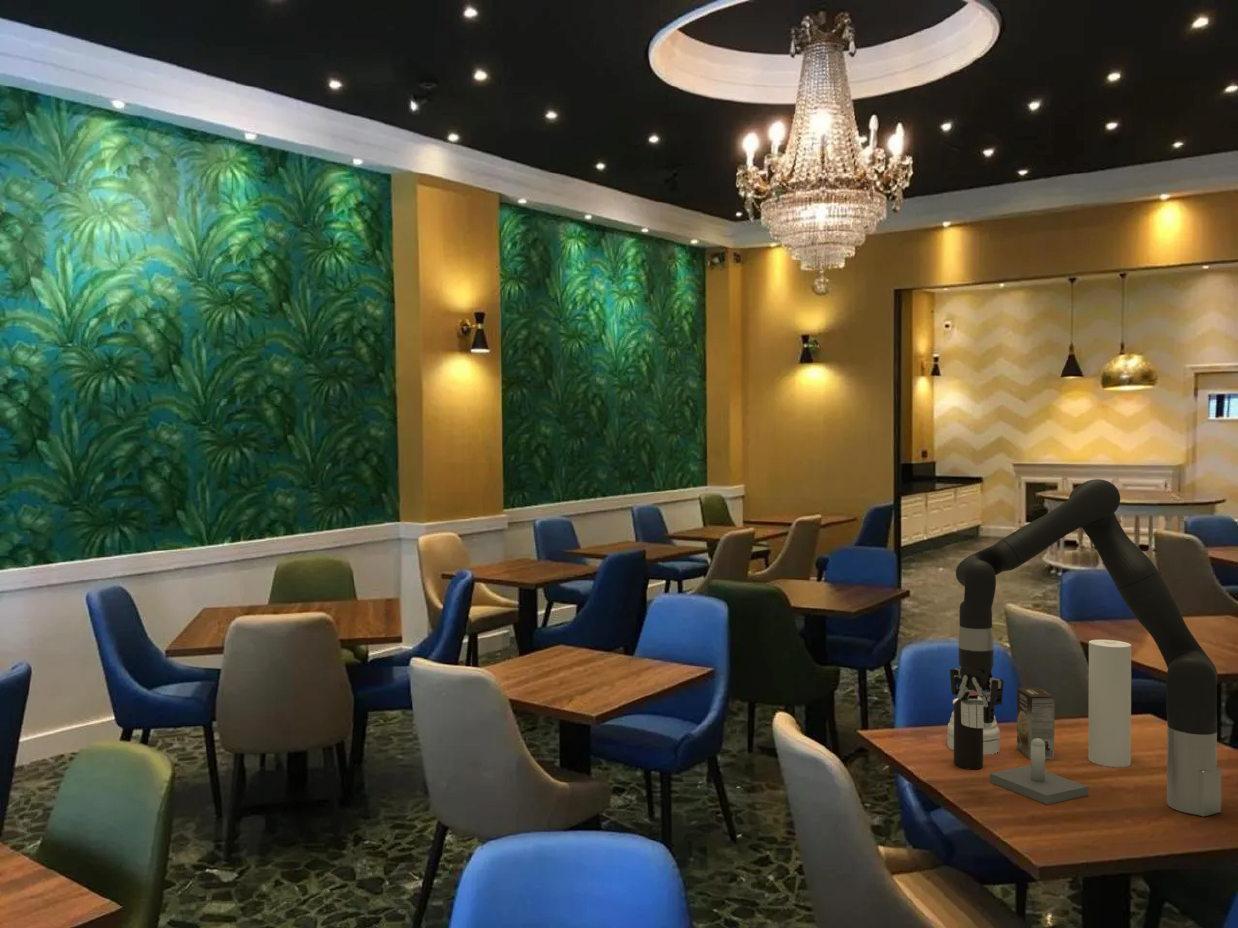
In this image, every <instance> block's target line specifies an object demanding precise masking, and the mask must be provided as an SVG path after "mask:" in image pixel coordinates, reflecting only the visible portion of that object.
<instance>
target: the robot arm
mask: <svg viewBox="0 0 1238 928" xmlns="http://www.w3.org/2000/svg"><path fill="white" fill-rule="evenodd" d="M1120 503H1121V495H1120V491H1119V489H1118V488H1117V486H1115V484H1114V483H1112V482H1111V481H1108V480H1105V479H1102V478H1101V479H1099V478H1095V479H1090V480H1087V481H1084V482H1083V483H1081V484H1079V485H1077V487H1075V488H1073V489H1072V491H1071V492H1070V494H1069V496H1068V498H1067V500H1065V501H1064V502H1062V503H1061V504H1060V505H1058V506H1057V507H1055V508H1054V509H1052V510H1050V511H1049V512H1048V513H1046V514H1044V515H1042V516H1040V517H1039V518H1037V519H1034V520H1033V521H1031V522H1029V523H1027V524H1025V525H1023V526H1022V527H1020V528H1017V530H1015V531H1014V532H1011V533H1009V534H1007V536H1005V537H1003V538H1002V539H1000V540H999V541H997V542H996V543H995V544H993V545H990V546H989V547H986V548H983V549H982V550H979V551H977V552H975V553H972V554H971V555H969V556H967V557H966V558H964V559H962V560H961V561H960V562H959V563H958V565H957V566H956V569H955V578H956V579H957V582H958V583H959V584H960V585H961V586H963V587H964V593H963V594H964V595H963V596H964V597H963V601H962V602H961V603H960V605H959V613H958V614H959V627H958V638H957V639H958V665H959V667H956V668H951V669H950V670H949V678H950V686H951V687H950V688H951V689H950V690H951V695H953V696H956V697H957V698H958V699H959V711H960V715H961V701H962V700H964V699H968V698H969V696H970V693H971V692H972V691H973V690H974V691H976V692H978V695H979V697H980V698H981V699H982V701H983V704H984V706H985V707H983V711H984V723H987V724H988V723H992V722H993V721H994V715H995V707H996V706H1002V704H1003V696H1004V694H1003V693H1004V684H1005V683H1004V679H1002V678H995V677H993V674H992V669H993V668H994V665H995V664H994V657H995V656H994V649H995V648H994V634H993V633H994V632H993V609H992V608H993V604H994V601H995V600H994V599H995V596H996V595H995V593H996V586H997V577H996V576H997V575H998V574H1000V573H1003V572H1006V571H1007V572H1008V571H1012V570H1015V569H1017V568H1019V567H1020V566H1022V565H1023V564H1026V563H1027V562H1028V561H1030V560H1031V559H1033V558H1035V557H1036V556H1037V555H1040V554H1041V553H1042V552H1044V551H1045V550H1047V549H1049V547H1051V546H1052V545H1054V544H1055V543H1057V542H1058V541H1060V540H1061V539H1063V538H1064V537H1066V536H1068V535H1069V534H1071V533H1073V532H1074V531H1077V530H1078V529H1080V528H1081V529H1082V531H1084V533H1085V534H1086V536H1087V537H1088V538H1089V540H1090V541H1091V543H1092V544H1093V546H1094V547H1095V549H1096V551H1097V553H1098V555H1099V557H1100V560H1101V561H1102V563H1103V565H1104V567H1105V568H1106V570H1107V572H1108V574H1109V576H1110V578H1111V579H1112V582H1113V583H1114V585H1115V587H1116V589H1117V591H1118V593H1119V594H1120V596H1121V599H1122V600H1123V601H1124V603H1125V605H1126V607H1128V609H1129V611H1130V613H1132V614H1133V616H1134V617H1135V618H1136V619H1137V621H1138V622H1139V623H1140V624H1141V625H1142V627H1144V629H1145V630H1146V631H1147V632H1148V633H1149V635H1150V636H1151V638H1152V639H1153V641H1154V642H1155V644H1156V646H1157V648H1158V650H1159V652H1160V654H1161V656H1162V658H1163V660H1164V663H1165V665H1166V668H1167V670H1166V680H1165V681H1166V682H1165V683H1166V686H1165V687H1166V688H1165V690H1166V692H1165V693H1166V694H1165V695H1166V696H1165V697H1166V717H1167V718H1166V720H1167V722H1166V723H1167V725H1166V727H1167V728H1166V730H1167V732H1166V733H1167V734H1166V735H1167V737H1166V738H1167V739H1166V741H1167V742H1166V749H1167V750H1166V766H1167V767H1166V805H1167V806H1168V807H1170V808H1171V809H1173V810H1176V811H1178V812H1182V813H1186V814H1191V815H1196V816H1201V817H1207V816H1208V817H1209V816H1211V815H1215V814H1218V813H1222V768H1221V767H1219V766H1217V765H1218V763H1217V762H1218V759H1217V758H1218V757H1217V753H1218V752H1217V751H1218V749H1217V748H1218V744H1217V743H1218V740H1217V739H1218V713H1217V712H1218V711H1217V705H1218V704H1217V703H1218V702H1217V701H1218V699H1217V698H1218V697H1217V696H1218V695H1217V693H1218V692H1217V691H1218V686H1217V685H1218V671H1217V667H1216V666H1215V664H1214V663H1213V661H1212V660H1211V658H1210V657H1209V656H1208V654H1207V653H1206V652H1205V651H1204V650H1203V648H1202V647H1201V645H1200V644H1199V642H1198V641H1197V640H1196V638H1195V636H1194V635H1193V634H1192V633H1191V631H1190V629H1189V628H1188V625H1187V624H1186V622H1185V620H1184V618H1183V616H1182V614H1181V611H1180V609H1179V607H1178V605H1177V602H1176V601H1175V599H1174V596H1173V594H1172V593H1171V591H1170V589H1169V587H1168V586H1167V583H1166V581H1165V580H1164V577H1162V574H1160V571H1159V570H1158V568H1157V566H1155V564H1154V563H1153V562H1152V560H1151V559H1150V557H1148V556H1147V555H1146V554H1145V553H1144V552H1143V550H1141V548H1140V547H1139V546H1138V545H1137V544H1136V543H1134V542H1133V541H1132V540H1131V538H1130V537H1129V536H1128V535H1127V533H1126V532H1125V531H1124V529H1123V527H1122V526H1121V523H1120V522H1119V519H1118V518H1117V516H1116V512H1117V510H1118V508H1119V507H1120Z"/></svg>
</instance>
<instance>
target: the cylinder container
mask: <svg viewBox="0 0 1238 928" xmlns="http://www.w3.org/2000/svg"><path fill="white" fill-rule="evenodd" d="M1087 727H1088V736H1087V737H1088V738H1087V739H1088V743H1087V744H1088V745H1087V746H1088V752H1087V753H1088V755H1087V757H1088V760H1089V762H1092V763H1094V764H1095V765H1100V766H1103V767H1108V768H1109V767H1110V768H1127V767H1130V766H1131V762H1132V761H1131V757H1132V756H1131V755H1132V751H1131V748H1132V746H1131V745H1132V743H1131V742H1132V741H1131V739H1132V738H1131V737H1132V644H1131V643H1129V642H1125V641H1122V640H1116V639H1115V640H1113V639H1091V640H1089V641H1088V726H1087Z"/></svg>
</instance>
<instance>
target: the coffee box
mask: <svg viewBox="0 0 1238 928" xmlns="http://www.w3.org/2000/svg"><path fill="white" fill-rule="evenodd" d="M1016 689H1017V691H1016V699H1017V701H1016V704H1017V705H1016V749H1017V750H1019V752H1021V753H1022V754H1023V755H1025V756H1026V757H1027V758H1028V759H1029V760H1031V742H1032V740H1033V739H1035V738H1039V739H1042V740H1043V741H1044V743H1045V760H1054V759H1055V709H1056V707H1055V704H1056V703H1055V702H1056V701H1055V699H1056V696H1054V695H1053V694H1051V693H1050V692H1048V691H1047V690H1046V689H1043V688H1042V687H1017V688H1016Z"/></svg>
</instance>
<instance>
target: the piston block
mask: <svg viewBox="0 0 1238 928" xmlns="http://www.w3.org/2000/svg"><path fill="white" fill-rule="evenodd" d="M989 782H990V783H992V782H993V783H992V784H994V783H995V784H994V785H997V786H999V785H1000V787H1002V786H1003V787H1002V788H1005V789H1006V790H1010V791H1012V792H1015V793H1017V794H1019V795H1022V796H1025V797H1027V796H1028V797H1027V798H1029V797H1030V798H1029V799H1033V800H1035V801H1037V802H1039V803H1043V804H1045V805H1050V804H1055V803H1060V802H1064V801H1069V800H1074V799H1078V798H1082V797H1086V796H1089V786H1088V785H1085V784H1082V783H1081V782H1077V781H1074V780H1071V779H1069V778H1066V777H1064V776H1061V775H1057V774H1054V773H1051V772H1050V771H1047V770H1046V759H1045V743H1044V741H1043V740H1042V739H1039V738H1035V739H1033V740H1032V742H1031V759H1030V764H1029V765H1024V766H1021V767H1014V768H1010V769H1005V770H1000V771H995V772H990V773H989Z"/></svg>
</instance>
